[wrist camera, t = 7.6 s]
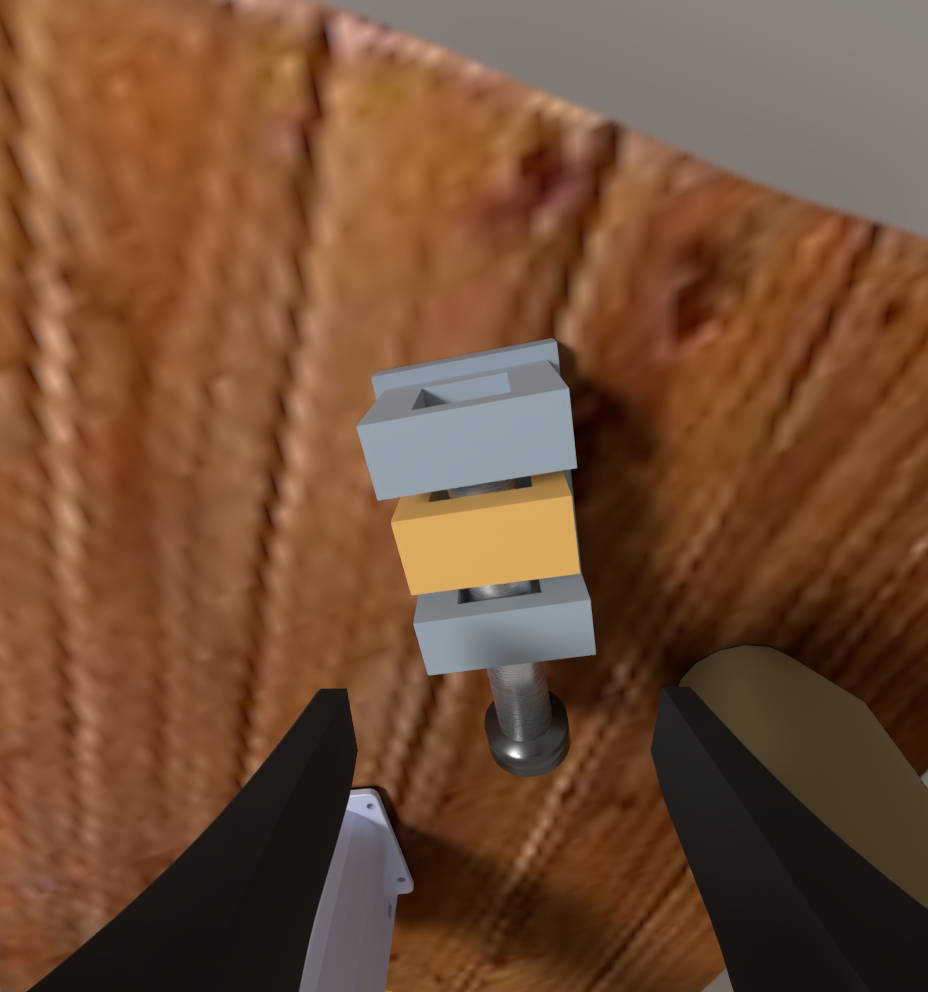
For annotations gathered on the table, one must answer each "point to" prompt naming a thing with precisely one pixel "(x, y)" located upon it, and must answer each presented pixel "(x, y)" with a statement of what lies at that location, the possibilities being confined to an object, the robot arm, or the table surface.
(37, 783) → the table surface
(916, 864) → the squeeze bottle
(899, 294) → the table surface
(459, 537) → the block
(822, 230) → the table surface
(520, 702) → the shaft
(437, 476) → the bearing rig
